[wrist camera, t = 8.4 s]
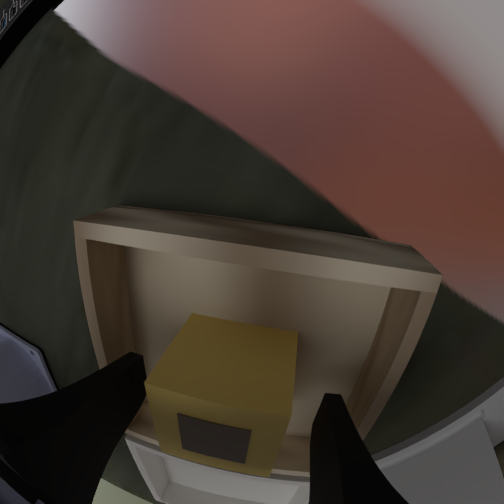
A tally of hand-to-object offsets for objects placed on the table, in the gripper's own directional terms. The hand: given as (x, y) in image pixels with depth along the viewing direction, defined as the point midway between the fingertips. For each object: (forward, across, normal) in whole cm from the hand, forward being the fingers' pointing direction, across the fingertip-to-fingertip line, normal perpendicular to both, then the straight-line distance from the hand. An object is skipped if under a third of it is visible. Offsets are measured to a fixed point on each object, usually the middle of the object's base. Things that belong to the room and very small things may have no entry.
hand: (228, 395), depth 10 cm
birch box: (+3, 0, 0) cm, 3 cm away
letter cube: (+2, 0, 0) cm, 2 cm away
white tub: (+3, 0, +13) cm, 13 cm away
